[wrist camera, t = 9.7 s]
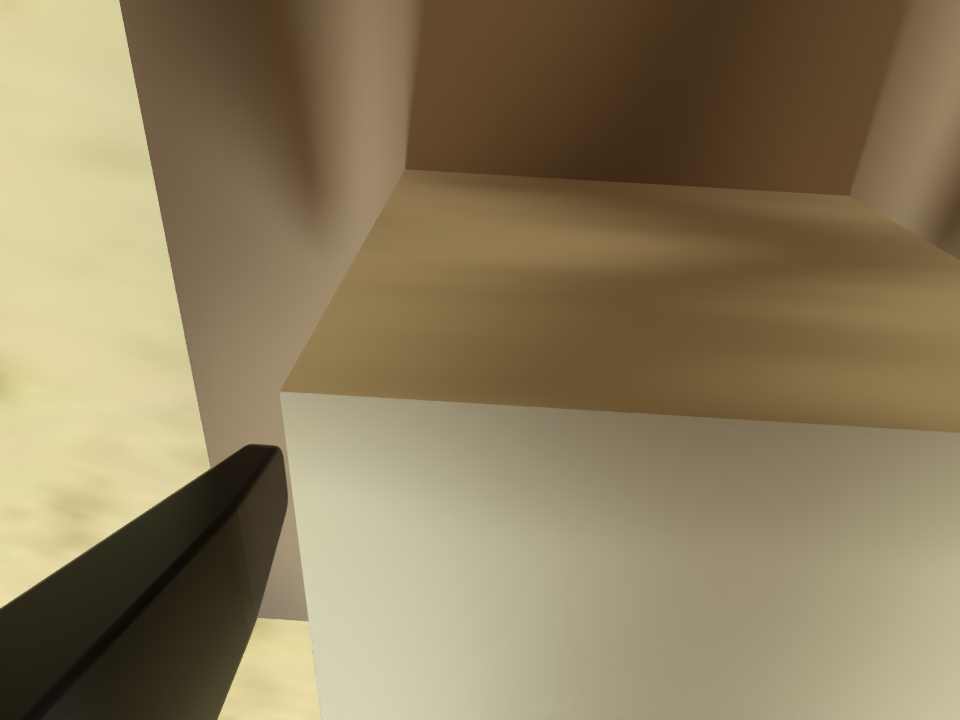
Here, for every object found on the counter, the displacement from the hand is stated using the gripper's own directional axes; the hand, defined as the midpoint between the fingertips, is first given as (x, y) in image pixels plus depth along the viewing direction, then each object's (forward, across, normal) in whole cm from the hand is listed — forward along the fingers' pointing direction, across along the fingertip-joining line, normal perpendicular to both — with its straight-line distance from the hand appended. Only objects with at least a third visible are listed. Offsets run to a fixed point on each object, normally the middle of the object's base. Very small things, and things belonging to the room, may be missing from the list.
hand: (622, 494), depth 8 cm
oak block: (+3, 0, 0) cm, 3 cm away
